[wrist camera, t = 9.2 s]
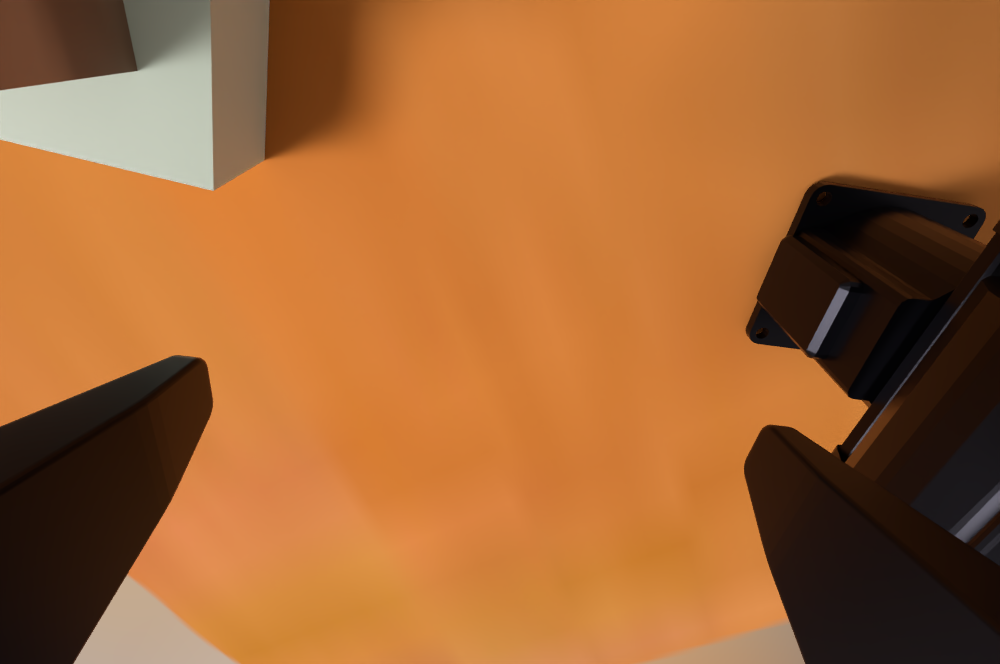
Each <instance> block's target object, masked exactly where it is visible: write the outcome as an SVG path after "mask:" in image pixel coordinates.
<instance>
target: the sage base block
mask: <svg viewBox="0 0 1000 664" xmlns="http://www.w3.org/2000/svg"><path fill="white" fill-rule="evenodd" d="M123 3H124V7H125V12H126V17H127V22H128V27H129V31H130V36H131V41H132V46H133V51H134V55H135V60H136V65H137V70H138V71H134V72H127V73H120V74H113V75H106V76H99V77H92V78H85V79H78V80H71V81H64V82H57V83H50V84H43V85H36V86H28V87H21V88H14V89H7V90H0V140H5V141H9V142H13V143H17V144H21V145H25V146H30V147H34V148H38V149H42V150H46V151H50V152H54V153H59V154H63V155H67V156H71V157H75V158H79V159H84V160H88V161H92V162H96V163H100V164H104V165H109V166H113V167H117V168H121V169H125V170H129V171H133V172H138V173H142V174H146V175H150V176H154V177H158V178H163V179H167V180H171V181H175V182H179V183H183V184H188V185H192V186H196V187H200V188H204V189H208V190H212V191H214V190H216V189H217V188H219V187H221V186H222V185H224V184H226V183H227V182H229V181H231V180H232V179H234V178H236V177H237V176H239V175H241V174H242V173H244V172H246V171H247V170H249V169H251V168H252V167H254V166H256V165H257V164H259V163H261V162H262V161H264V160H265V132H266V101H267V69H268V38H269V6H270V0H123Z"/></svg>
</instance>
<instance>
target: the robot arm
mask: <svg viewBox="0 0 1000 664" xmlns="http://www.w3.org/2000/svg"><path fill="white" fill-rule="evenodd" d="M823 192H826V196H825V198H824V199H823V200H822V201H820V202H817V197H818V196H819V195H820V194H821V193H823ZM969 215H970V216H969ZM967 216H969V219H968V220H967V221H966V222H964V223H963V221H964V219H965V218H966V217H967ZM985 218H986V213H985V211H984V210H983V209H981V208H979V207H976V206H974V205H971V204H967V203H960V202H954V201H947V200H941V199H934V198H928V197H921V196H915V195H908V194H902V193H895V192H889V191H882V190H876V189H869V188H863V187H856V186H850V185H843V184H837V183H831V182H818V183H815V184H813V185H812V186H811V187H809V188H808V190H807V191H806V193H805V195H804V197H803V199H802V202H801V204H800V206H799V208H798V211H797V213H796V215H795V217H794V220H793V222H792V224H791V227H790V229H789V231H788V233H787V236H786V237H785V238H784V239H783V240H782V241H781V242H780V245H779V247H778V249H777V252H776V254H775V256H774V258H773V261H772V263H771V265H770V268H769V270H768V272H767V274H766V277H765V279H764V281H763V284H762V286H761V288H760V290H759V293H758V295H757V300H758V301H757V304H756V306H755V308H754V311H753V313H752V315H751V317H750V320H749V322H748V324H747V326H746V334H747V336H748V337H749V338H750V340H751V341H752V342H754V343H757V344H763V345H771V346H779V347H786V348H794V349H801V350H802V351H803V352H804V354H805V355H806V356H807V357H809V358H814V360H815V361H816V362H817V363H818V364H819V365H820V366H821V367H822V368H823V369H824V370H825V371H826V373H827V374H828V375H829V376H830V377H831V378H832V379H833V380H834V381H835V382H836V383H837V385H838V386H839V387H840V388H841V389H842V390H843V391H844V392H845V393H846V394H847V395H848V397H850V398H852V399H858V400H862V401H863V402H864V403H865V404H866V405H867V406H868V410H867V411H866V413H865V414H864V415H863V417H862V418H861V419H860V421H859V422H858V424H857V425H856V426H855V428H854V429H853V430H852V432H851V433H850V435H849V436H848V437H847V439H846V440H845V441H844V443H843V444H842V445H837V446H836V448H835V449H834V450H833V452H832V453H830V452H828V451H827V450H825V449H824V448H822V447H821V446H819V445H818V444H816V443H815V442H813V441H812V440H810V439H809V438H807V437H806V436H804V435H803V434H801V433H800V432H798V431H797V430H795V429H794V428H791V427H786V426H777V425H767V426H765V427H764V428H762V430H761V431H760V433H759V435H758V437H757V439H756V441H755V443H754V445H753V446H752V448H751V450H750V452H749V454H748V456H747V458H746V461H745V465H744V474H745V479H746V483H747V486H748V490H749V494H750V498H751V502H752V506H753V510H754V514H755V517H756V521H757V525H758V529H759V533H760V537H761V541H762V544H763V548H764V551H765V555H766V558H767V561H768V564H769V567H770V570H771V573H772V576H773V579H774V581H775V584H776V587H777V589H778V592H779V595H780V597H781V600H782V603H783V605H784V608H785V611H786V613H787V616H788V619H789V622H790V624H791V627H792V630H793V632H794V635H795V638H796V640H797V643H798V646H799V648H800V651H801V654H802V656H803V659H804V662H805V664H1000V220H999V221H998V223H997V224H996V226H995V227H994V228H993V231H995V232H996V234H995V235H994V236H993V238H992V239H991V240H990V242H989V243H988V245H985V244H983V243H981V242H978V241H976V240H974V237H975V236H976V234H977V232H978V231H979V229H980V228H981V226H982V225H983V223H984V221H985ZM761 328H764V330H763V331H762V332H761V333H757V334H756V332H757V331H758V330H759V329H761ZM212 408H213V397H212V391H211V385H210V379H209V373H208V367H207V364H206V362H205V361H204V360H203V359H201V358H198V357H190V356H181V355H175V356H171V357H169V358H166V359H164V360H161V361H159V362H157V363H154V364H152V365H149V366H147V367H144V368H142V369H140V370H137V371H135V372H132V373H130V374H127V375H125V376H122V377H120V378H118V379H115V380H113V381H110V382H108V383H105V384H103V385H101V386H98V387H96V388H93V389H91V390H88V391H86V392H84V393H81V394H79V395H76V396H74V397H71V398H69V399H66V400H64V401H62V402H59V403H57V404H54V405H52V406H49V407H47V408H45V409H42V410H40V411H37V412H35V413H32V414H30V415H28V416H25V417H23V418H20V419H18V420H15V421H13V422H11V423H8V424H6V425H3V426H1V427H0V664H73V663H74V662H75V660H76V658H77V657H78V655H79V653H80V652H81V650H82V648H83V647H84V645H85V643H86V642H87V640H88V638H89V637H90V635H91V633H92V632H93V630H94V628H95V627H96V625H97V623H98V622H99V620H100V619H101V617H102V615H103V614H104V612H105V610H106V609H107V607H108V605H109V604H110V602H111V600H112V598H113V597H114V595H115V594H116V592H117V590H118V588H119V587H120V585H121V584H122V582H123V580H124V579H125V577H126V575H127V574H128V572H129V570H130V569H131V567H132V565H133V564H134V562H135V560H136V559H137V557H138V556H139V554H140V552H141V551H142V549H143V547H144V546H145V544H146V542H147V541H148V539H149V537H150V536H151V534H152V532H153V531H154V529H155V527H156V526H157V524H158V522H159V521H160V519H161V517H162V516H163V514H164V512H165V510H166V509H167V507H168V505H169V503H170V502H171V500H172V498H173V496H174V494H175V492H176V490H177V488H178V486H179V483H180V481H181V479H182V477H183V475H184V472H185V470H186V468H187V466H188V464H189V462H190V459H191V457H192V455H193V453H194V451H195V448H196V446H197V444H198V442H199V440H200V437H201V435H202V433H203V431H204V429H205V427H206V424H207V422H208V420H209V418H210V415H211V412H212Z"/></svg>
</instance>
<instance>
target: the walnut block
mask: <svg viewBox="0 0 1000 664" xmlns="http://www.w3.org/2000/svg"><path fill="white" fill-rule="evenodd" d="M134 71H138V70H137V65H136V60H135V55H134V51H133V46H132V41H131V36H130V31H129V27H128V22H127V17H126V12H125V7H124V3H123V0H0V90H7V89H14V88H21V87H28V86H36V85H43V84H50V83H57V82H64V81H71V80H78V79H85V78H92V77H99V76H106V75H113V74H120V73H127V72H134Z"/></svg>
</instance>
